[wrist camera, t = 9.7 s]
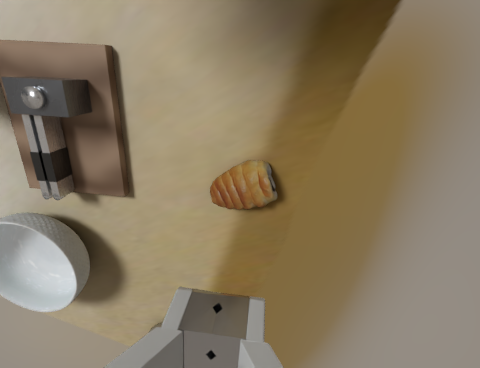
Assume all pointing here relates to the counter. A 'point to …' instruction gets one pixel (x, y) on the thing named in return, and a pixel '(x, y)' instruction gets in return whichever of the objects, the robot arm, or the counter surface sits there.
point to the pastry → (244, 186)
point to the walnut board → (77, 127)
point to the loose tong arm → (55, 155)
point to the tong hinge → (47, 96)
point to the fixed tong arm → (37, 155)
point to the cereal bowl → (41, 262)
